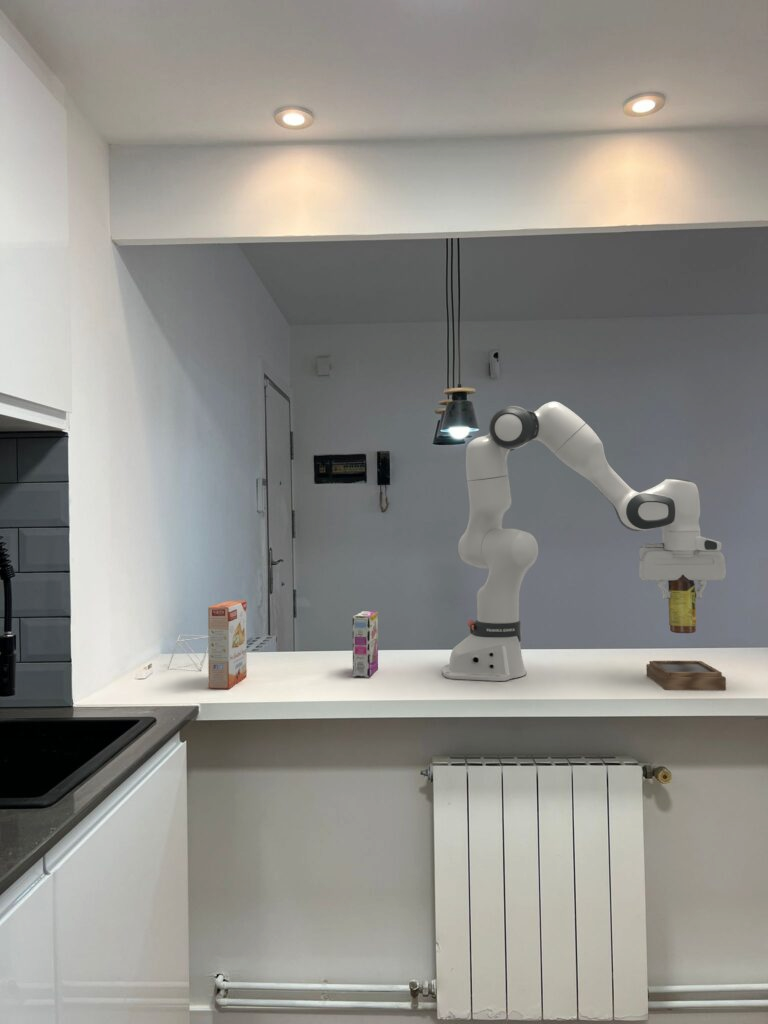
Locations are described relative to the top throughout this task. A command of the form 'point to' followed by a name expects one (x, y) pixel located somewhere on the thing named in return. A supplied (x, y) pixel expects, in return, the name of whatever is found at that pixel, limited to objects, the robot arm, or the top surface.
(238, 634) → the cracker box
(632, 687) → the top surface
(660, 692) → the top surface
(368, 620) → the candy bar box
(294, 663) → the top surface
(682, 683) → the tray
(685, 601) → the sauce bottle
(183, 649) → the geometric polyhedron
